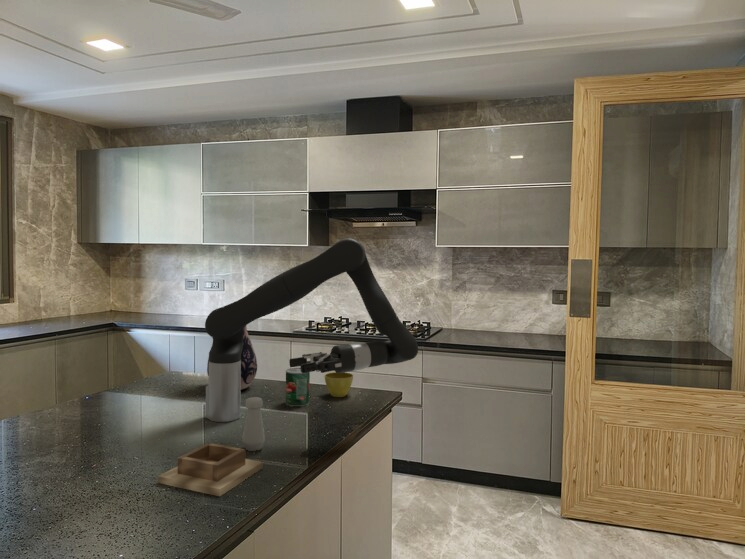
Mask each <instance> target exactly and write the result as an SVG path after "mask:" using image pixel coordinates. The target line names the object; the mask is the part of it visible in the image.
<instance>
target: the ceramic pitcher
mask: <svg viewBox="0 0 745 559" xmlns="http://www.w3.org/2000/svg"><path fill="white" fill-rule="evenodd" d="M247 325H248V324H247ZM247 325H246V326H244V331H243V349H242V352H241V391H242V390H244V389H247V388H248V387H249V386H250V385H251V384H252V383H253V381H254V380H255V378H256V375H257V372H258V360H257V357H256V356H257V355H256V353H255V350H254V347H253V343H252V341H251V337H250V336H249V333H248V328H247ZM211 338H212V339H213V337H211ZM206 371H207V372H206V374H207V377H209V357H207V367H206Z"/></svg>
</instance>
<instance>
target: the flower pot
mask: <svg viewBox="0 0 745 559" xmlns="http://www.w3.org/2000/svg"><path fill="white" fill-rule="evenodd" d="M323 377H324V381H325V385H326V388H327V390H328V392H329V394H330V395H331V397H335V398H343V397H346V396H347V394H348V393H349V391H350V389H351V386H352V385H353V384H352V383H353V379H354V374H352V373H350V372H344V373H336V372H335V371H332V372H326V373H325V374H324V375H323Z"/></svg>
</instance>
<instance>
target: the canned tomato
mask: <svg viewBox="0 0 745 559" xmlns="http://www.w3.org/2000/svg"><path fill="white" fill-rule="evenodd" d="M310 373H311V372H307V373H302V372H301V368H300V367H291V368H287V369H285V402H284V403H285V406H288V405H289V407H293V406H301V407H305V406H304V405H306V406H308V405H309V404H310V390H311V389H310V387H311V386H310V378H311V376H310Z"/></svg>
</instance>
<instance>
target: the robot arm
mask: <svg viewBox="0 0 745 559" xmlns="http://www.w3.org/2000/svg"><path fill="white" fill-rule="evenodd" d="M344 273H346V274H347V275H348V277H349V278H350V279H351V281H352V282H353V284H354V285H355V287H356V289H357V291H358V293H359V295H360V298H361V300H362V302H363V305H364V307H365V309H366V311H367V314H368V315H369V317H370V319H371V321H372V323H373V325H374V326H375V328H376V329H377V331H378V333H379V334H380V335H383V336H386V337H387V338H388V339H389V340H384V341H380V340H373V341H366V342H353V343H346V344H345V343H344V344H338V345H334V346H332V348H331V350H330V353H327V352H322V351H319V352H313V353H307V354H305V353H303V354H302V355H301V357H293V358H289V360H288V361H289V367H291V368H298V367H299V368H301V372H302V373H307V372H310V373H312V372H316V373H318V372H320V373H322V374H323V373H330V372H336V373H344V372H345V373H350V372H354V371H355V372H356V371H360V370H364V369H369V368H374V367H379V366H381V365H393V364H394V365H395V364H399V363H404V362H407V361H412V360H414V359H415V358H416V357H417V356H418V353H419V345H418V342H417V339H416V338H415V336H414V335H413V333H412V332H410V330H409V328H408V327H406V326H405V324H404V323H402V321H401V320H400V319H399V317H398V315H397V313H396V311H395V310H394V308H393V306H392V304H391V302H390V301H389V299H388V298H387V295H386V294H385V292H384V291H383V289H382V288H381V286H380V284H379V282H378V280H377V278H376V277H375V275H374V273H373V270H372V268H371V265H370V263H369V260H368V256H367V254H366V250H365V247H364V245H363V244H362V243H361V242H360V241H359V240H357V239H353V238H343V239H340V240H339V241H337V242H336V243H334V244H333V245H332V246H330V247H329V248H327V249H326V250H325V251H323V252H321V253H320V254H319V255H317V256H315V257H313V258H312V259H310V260H308V261H305V262H303V263H301V264H298V265H295V266H294V267H291V268H289V269H288V270H285V271H283V272H281V273H280V274H278V275H276V276H275V277H272V278H270V279H269V280H268V281H266V282H264V283H262V284H261V285H260V286H258V287H256V288H255V289H254V290H252V291H251V292H249V293H248V294H246V295H245V296H243V297H242V298H240V299H237V300H236V301H234V302H232V303H229V304H227V305H223V306H221V307H219V308H215V309H214V310H212V311H211V312H210V313H209V314H208V315H207V316H206V319H205V321H204V322H205V323H204V329H205V332H206V333H207V335H208V336H210V337H211V338H212V337H213V338H212V344H211V347H210V350H209V352H208V358H209V376H208V385H206V386H205V419H208V420H209V421H212V422H216V423H217V422H219V423H227V422H233V421H237V420H239V419H240V418H241V393H242V392H241V391H242V390H241V352H242V349H243V331H244V326H246V325H249V324H250V323H252V322H254V321H255V320H258V319H260V318H263V317H266V316H268V315H270V314H271V315H272V314H273V313H275V312H278V311H280V310H282V309H285V308H287V307H288V306H291V305H292V304H295V303H297V301H300V300H301V299H302V298H303V299H304V298H305V297H306V296H307V295H308V294H310V293H312V292H313V291H314V290H315V289H317V288H319V286H321V285H322V284H324V283H325V282H326V281H329V280H331V279H332V278H335V277H337V276H339V275H342V274H344ZM246 327H247V326H246ZM308 359H309V360H308Z"/></svg>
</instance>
